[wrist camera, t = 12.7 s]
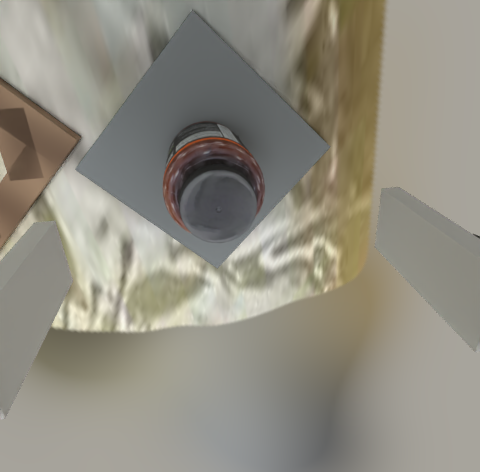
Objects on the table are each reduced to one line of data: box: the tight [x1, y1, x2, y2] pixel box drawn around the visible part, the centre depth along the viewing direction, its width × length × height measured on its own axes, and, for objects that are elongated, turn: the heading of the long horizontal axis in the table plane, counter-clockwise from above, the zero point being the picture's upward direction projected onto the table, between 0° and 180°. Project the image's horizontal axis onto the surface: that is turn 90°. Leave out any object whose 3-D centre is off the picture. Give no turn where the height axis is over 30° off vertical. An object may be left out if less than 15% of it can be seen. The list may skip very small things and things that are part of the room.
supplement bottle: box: [163, 121, 265, 243], centre depth 24 cm, size 6×6×11 cm
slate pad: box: [75, 10, 330, 268], centre depth 30 cm, size 14×14×1 cm
